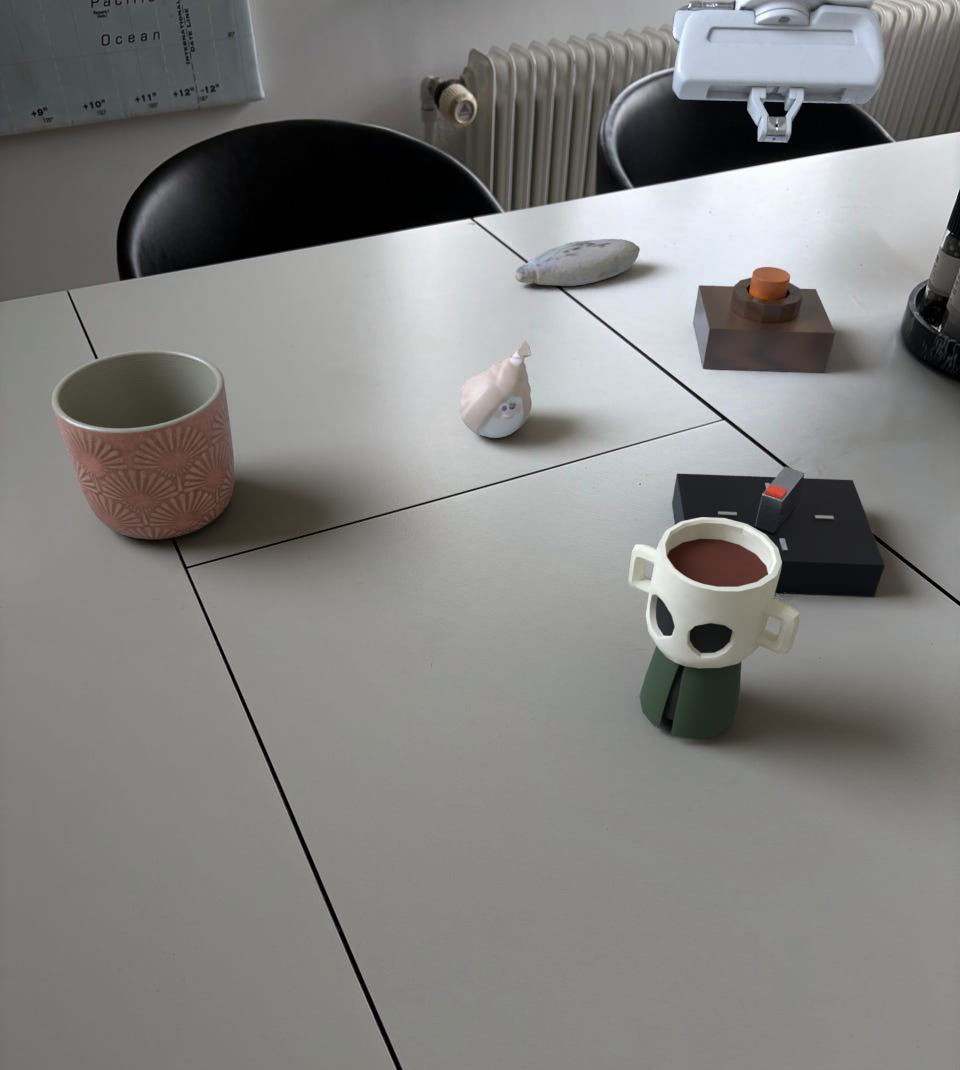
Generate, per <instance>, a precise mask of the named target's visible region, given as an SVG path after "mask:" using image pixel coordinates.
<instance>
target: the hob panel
mask: <svg viewBox="0 0 960 1070" xmlns="http://www.w3.org/2000/svg"><path fill="white" fill-rule="evenodd" d="M776 477H777V476H760V475H759V476H756V475H731V474H729V475H728V474H705V473H703V474H702V473H680V472H679V473H678V472H677V473H676V477H675V483H674V489H673V496H672V501H671V506H672V514H673V520H674V525H676V524H678V523H679V522H681V521H686V520H691V519H695V518H700V517H709V518H726V519H730V520H734V521H737V522H741V523H745V524H748V525H750V526H751V527H753V528H755V529H757V530H759V531H760V532H762V533H764V534H766V535H767V536H768V537H769V539H770V540H771V541H772V542H773V543H774V544H775V545H776V546H777V547H778V550H779V553H780V557H781V561H782V566H781V572H780V576H779V579H778V583H777V587H776V591H775V594H797V595H798V594H799V595H819V596H822V595H823V596H846V597H871V598H874V597H875V595H876V593H877V590H878V587H879V584H880V581H881V578H882V575H883V572H884V570H885V567H886V563H885V561H884V558H883V556H882V553H881V550H880V548H879V545H878V543H877V540H876V537H875V534H874V532H873V530H872V527H871V524H870V522H869V519H868V517H867V514H866V512H865V511H866V510H865V509H864V506H863V503H862V501H861V498H860V496H859V493H858V490H857V487H856V485H855V483H854V480H853V479H835V478H833V479H832V478H808V477H805V478H803V482H802V485H801V489H800V493H799V497H798V501H797V505H796V506H795V508H794V509H793V510H792V511H791V513H790V514H789V515H788V517H787V518H786V519H785V521H784V522H783V523H782V524H781V526H780V527H779V528H778V530H777V531H776V532H775V533H771V532H768V531H765V530H762V529H760V528H757V527H755V523H756V519H757V514H758V510H759V506H760V501H761V497H762V494H763V493H764V491H765V490H766V489H767V488H768V487H769V485H770V484H771V483H772V482H773V480H774V479H775V478H776Z"/></svg>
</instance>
